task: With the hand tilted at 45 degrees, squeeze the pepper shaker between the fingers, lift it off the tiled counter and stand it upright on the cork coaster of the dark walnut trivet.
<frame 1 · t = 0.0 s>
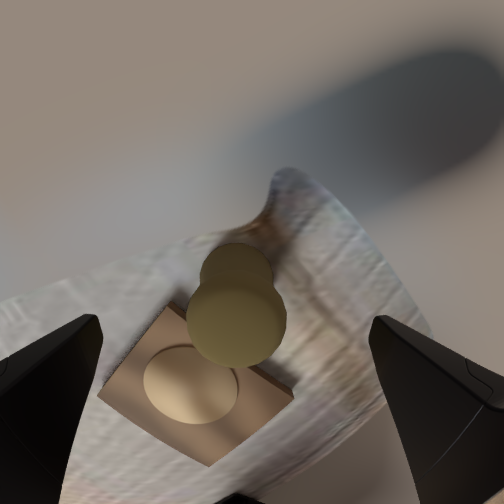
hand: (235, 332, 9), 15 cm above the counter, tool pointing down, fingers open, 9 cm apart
pepper shaker: (236, 279, 25), on the counter
walnut trivet: (191, 394, 26), on the counter
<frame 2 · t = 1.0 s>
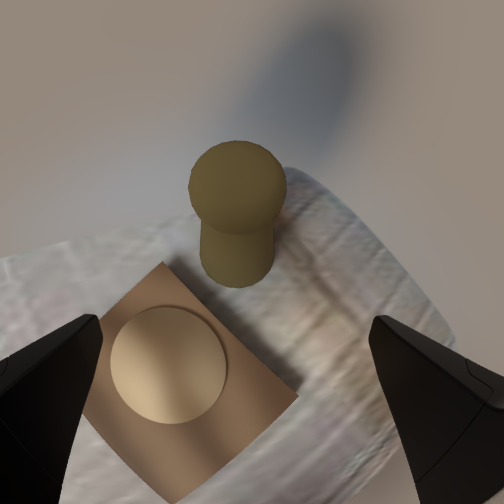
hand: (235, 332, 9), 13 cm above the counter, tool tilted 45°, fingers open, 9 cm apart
pepper shaker: (236, 252, 24), on the counter
walnut trivet: (166, 388, 20), on the counter
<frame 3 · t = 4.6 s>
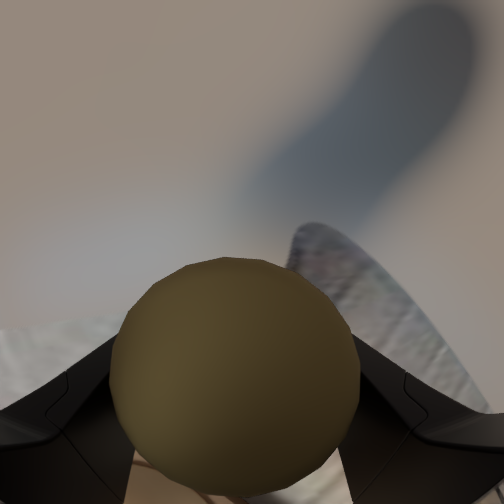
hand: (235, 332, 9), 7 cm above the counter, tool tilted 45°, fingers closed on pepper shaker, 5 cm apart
pepper shaker: (235, 374, 15), on the counter, touching gripper
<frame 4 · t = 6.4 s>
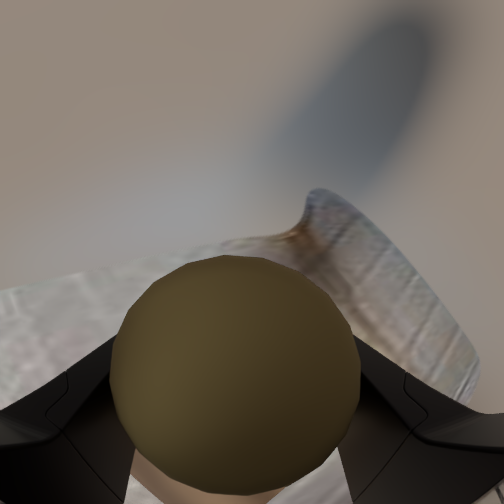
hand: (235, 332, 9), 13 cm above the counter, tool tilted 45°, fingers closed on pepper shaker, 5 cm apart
pepper shaker: (236, 373, 15), point 6 cm above the counter, touching gripper
walnut trivet: (204, 431, 18), on the counter
when the fingers open (9 cm above the counter, at t = 8.4 s): pepper shaker stays where it is, resting on walnut trivet.
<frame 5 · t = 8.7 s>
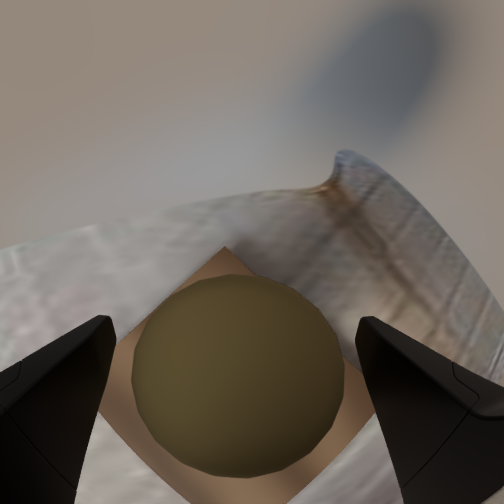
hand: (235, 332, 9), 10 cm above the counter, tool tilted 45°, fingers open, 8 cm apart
pepper shaker: (236, 376, 16), point 2 cm above the counter, touching walnut trivet
walnut trivet: (230, 401, 16), on the counter
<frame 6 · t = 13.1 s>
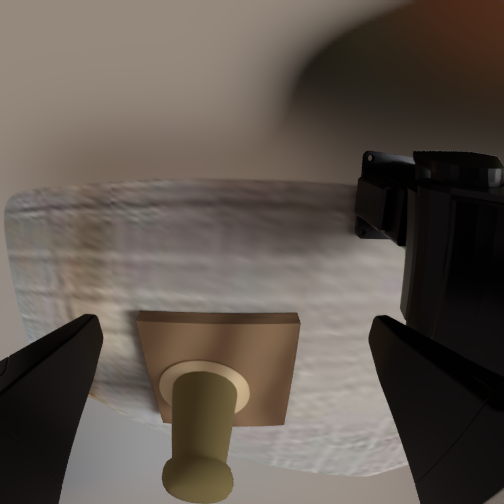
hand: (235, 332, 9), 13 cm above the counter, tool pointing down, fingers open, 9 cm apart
pepper shaker: (204, 391, 25), point 2 cm above the counter, touching walnut trivet
walnut trivet: (220, 373, 26), on the counter
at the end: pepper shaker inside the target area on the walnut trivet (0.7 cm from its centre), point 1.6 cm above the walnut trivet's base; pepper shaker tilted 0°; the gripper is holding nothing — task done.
